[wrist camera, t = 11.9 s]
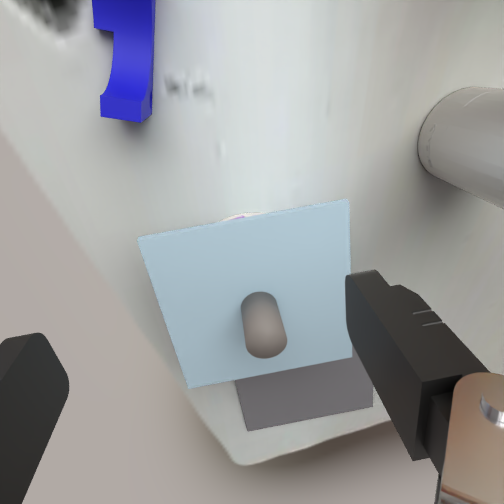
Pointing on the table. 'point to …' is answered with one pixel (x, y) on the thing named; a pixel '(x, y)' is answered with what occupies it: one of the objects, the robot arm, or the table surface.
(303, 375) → the mat
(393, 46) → the table surface
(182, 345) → the sheet
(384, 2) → the table surface
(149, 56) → the cable clip
